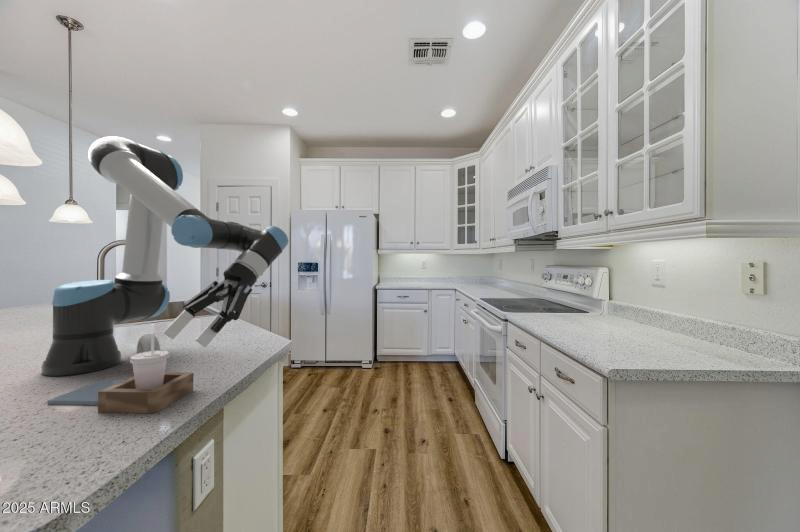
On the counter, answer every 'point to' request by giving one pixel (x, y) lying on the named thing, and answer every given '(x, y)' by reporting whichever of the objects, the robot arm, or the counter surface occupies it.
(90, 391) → the coaster
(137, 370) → the smoothie
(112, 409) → the collar
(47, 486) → the counter surface
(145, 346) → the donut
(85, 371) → the robot arm
